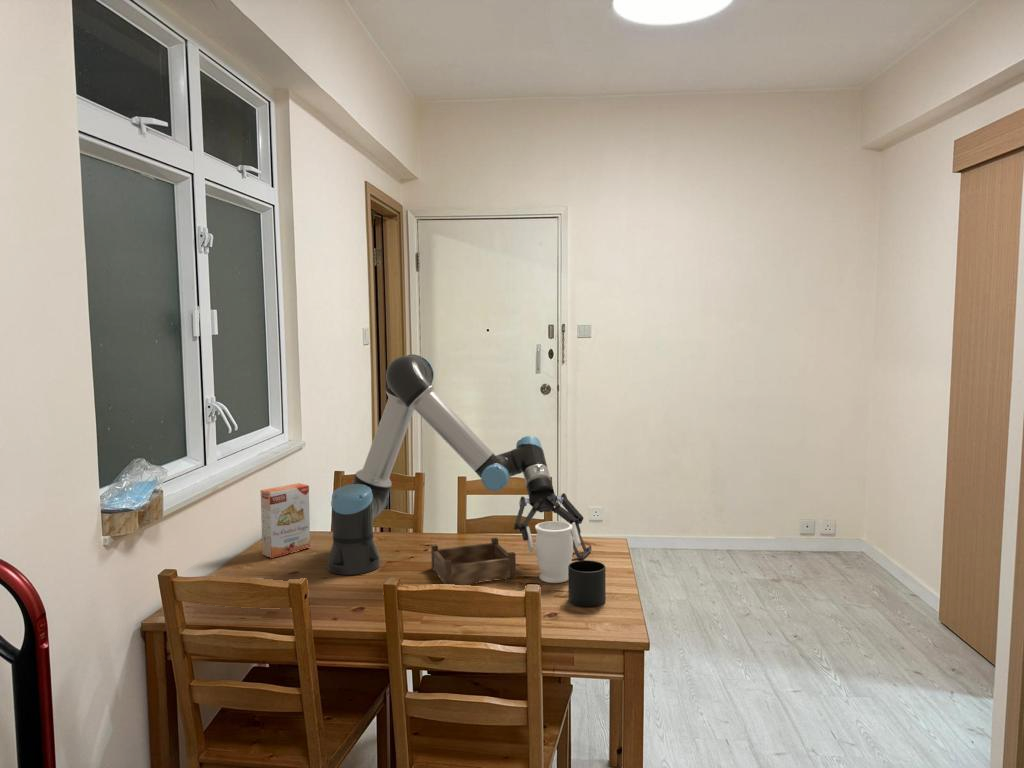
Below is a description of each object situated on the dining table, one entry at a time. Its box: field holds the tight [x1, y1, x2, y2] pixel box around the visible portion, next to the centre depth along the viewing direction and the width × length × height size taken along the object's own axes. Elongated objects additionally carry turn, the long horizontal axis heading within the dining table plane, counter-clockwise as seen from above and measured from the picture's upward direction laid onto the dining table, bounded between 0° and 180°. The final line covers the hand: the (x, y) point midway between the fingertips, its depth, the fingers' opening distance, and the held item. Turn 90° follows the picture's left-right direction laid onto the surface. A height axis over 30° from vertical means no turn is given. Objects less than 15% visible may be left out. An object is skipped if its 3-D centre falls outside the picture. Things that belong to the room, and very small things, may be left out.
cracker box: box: [260, 482, 311, 559], centre depth 228 cm, size 14×6×21 cm, turn 139°
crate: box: [430, 537, 517, 586], centre depth 207 cm, size 20×17×7 cm
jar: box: [534, 520, 574, 584], centre depth 202 cm, size 11×10×15 cm
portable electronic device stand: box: [571, 531, 592, 561], centre depth 222 cm, size 9×8×8 cm
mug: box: [567, 559, 607, 608], centre depth 187 cm, size 9×12×9 cm
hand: (555, 547), depth 201 cm, fingers open, 13 cm apart
